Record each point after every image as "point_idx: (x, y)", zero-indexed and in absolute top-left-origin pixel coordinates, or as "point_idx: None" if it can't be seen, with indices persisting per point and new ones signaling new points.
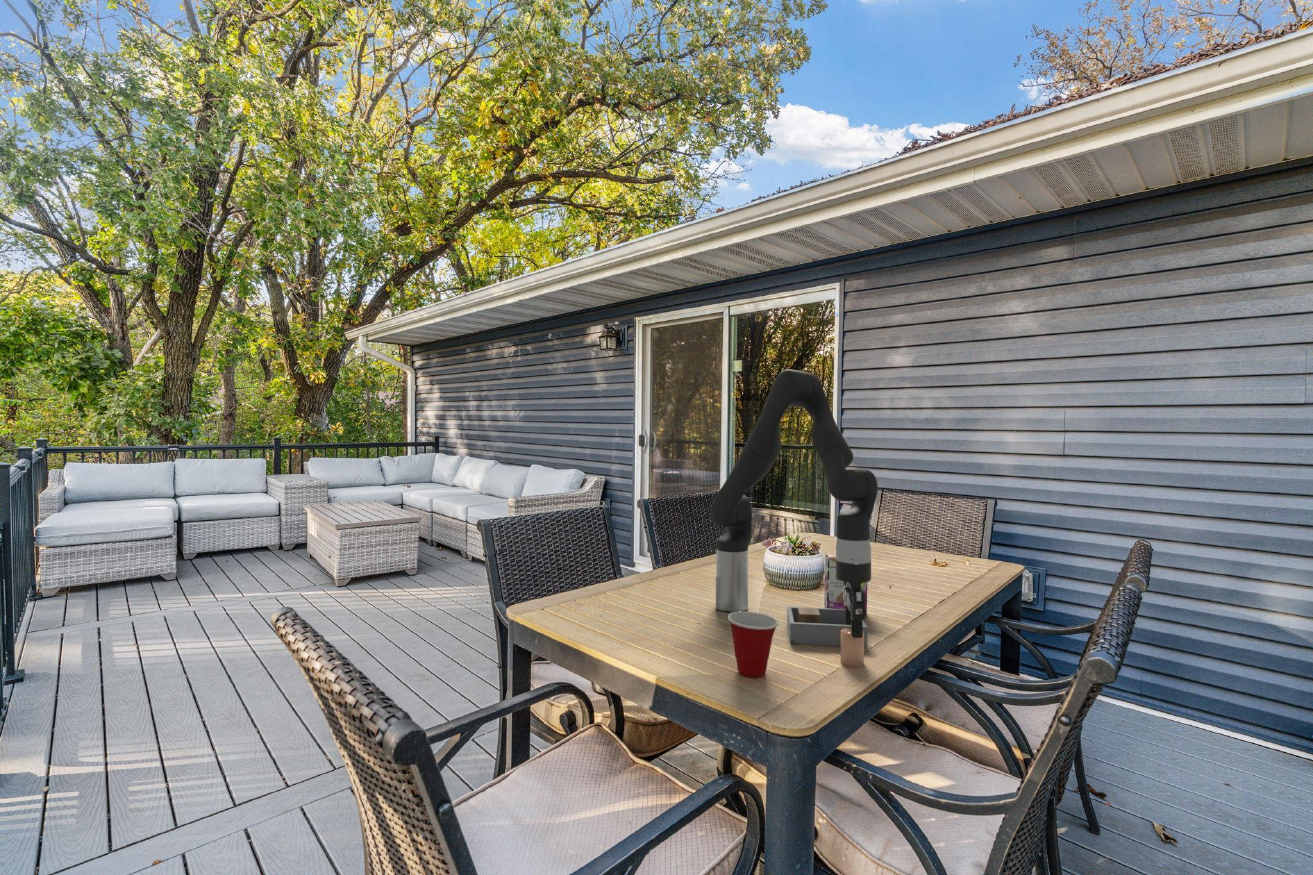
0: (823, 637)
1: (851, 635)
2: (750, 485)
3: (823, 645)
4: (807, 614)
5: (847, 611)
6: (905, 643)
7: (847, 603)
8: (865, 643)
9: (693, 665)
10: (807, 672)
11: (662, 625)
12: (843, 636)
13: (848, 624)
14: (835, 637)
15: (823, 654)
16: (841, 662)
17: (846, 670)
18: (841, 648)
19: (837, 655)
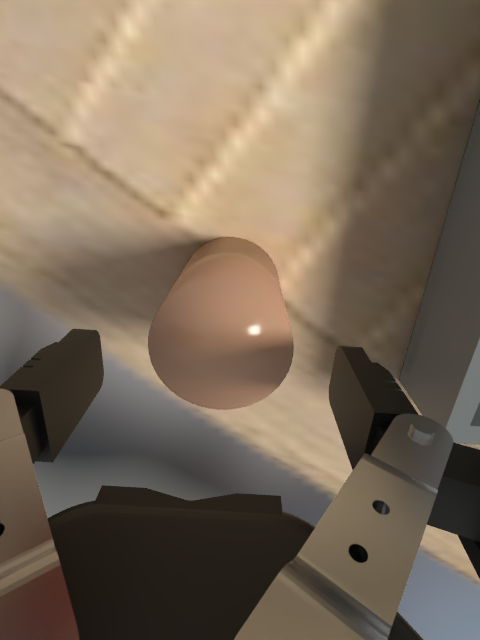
0: (475, 199)
1: (150, 331)
2: None
3: (452, 195)
4: None
5: (363, 409)
6: None
7: (11, 484)
8: (407, 384)
9: None
10: (72, 29)
11: None
12: (185, 283)
13: (335, 358)
14: (457, 266)
15: (329, 171)
16: (219, 239)
17: (142, 243)
18: (214, 254)
19: (316, 240)
